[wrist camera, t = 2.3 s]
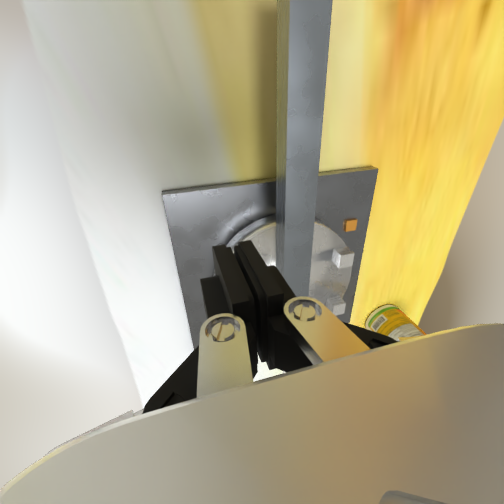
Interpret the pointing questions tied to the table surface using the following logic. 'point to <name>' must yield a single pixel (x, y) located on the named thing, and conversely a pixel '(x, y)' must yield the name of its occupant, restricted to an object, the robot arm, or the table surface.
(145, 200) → the table surface
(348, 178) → the plate
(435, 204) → the table surface
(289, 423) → the robot arm
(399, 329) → the supplement bottle
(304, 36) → the grey disc with handle
